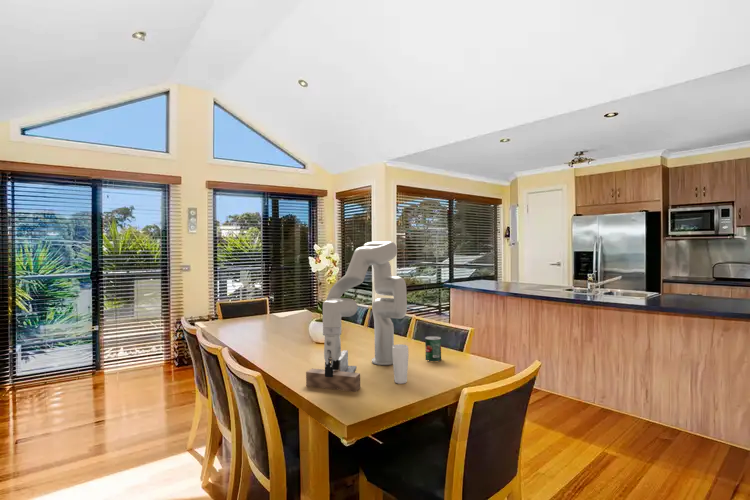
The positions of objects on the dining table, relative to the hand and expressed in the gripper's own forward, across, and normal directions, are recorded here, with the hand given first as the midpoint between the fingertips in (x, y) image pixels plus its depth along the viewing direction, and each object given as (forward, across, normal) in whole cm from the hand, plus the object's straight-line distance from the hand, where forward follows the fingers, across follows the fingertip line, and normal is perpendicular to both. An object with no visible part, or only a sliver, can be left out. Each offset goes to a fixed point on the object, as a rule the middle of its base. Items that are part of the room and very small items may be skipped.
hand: (332, 373), depth 156 cm
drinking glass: (+5, +9, -27) cm, 29 cm away
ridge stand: (+5, +17, 0) cm, 17 cm away
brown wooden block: (+6, +1, 0) cm, 6 cm away
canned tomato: (+5, +43, -41) cm, 60 cm away
